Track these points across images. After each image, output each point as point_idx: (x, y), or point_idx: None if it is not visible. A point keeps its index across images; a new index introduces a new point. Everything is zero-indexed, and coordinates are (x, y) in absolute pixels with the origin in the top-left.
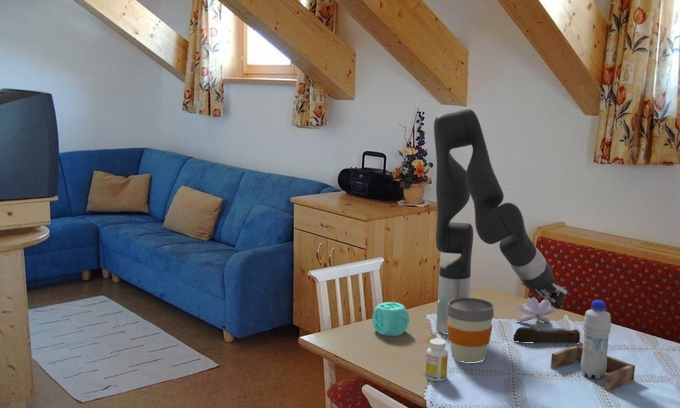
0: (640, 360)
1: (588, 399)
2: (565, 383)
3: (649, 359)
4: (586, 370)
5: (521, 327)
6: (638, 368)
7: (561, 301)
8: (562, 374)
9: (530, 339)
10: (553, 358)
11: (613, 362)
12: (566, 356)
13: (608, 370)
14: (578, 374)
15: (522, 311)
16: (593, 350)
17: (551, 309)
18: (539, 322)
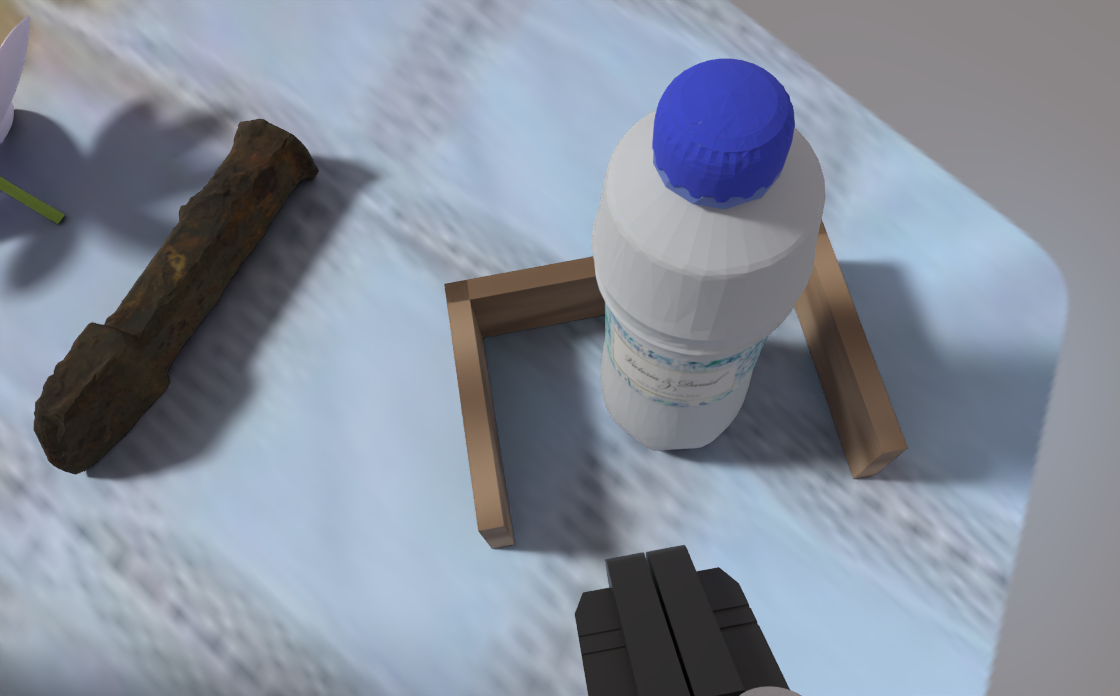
0: (612, 70)
1: (944, 671)
2: None
3: (619, 31)
4: (691, 446)
5: (43, 399)
6: None
7: (756, 634)
8: (594, 550)
9: (145, 392)
10: (498, 534)
11: None
12: (490, 416)
13: None
14: (631, 462)
15: None
16: (738, 383)
17: (1, 80)
18: (18, 190)
